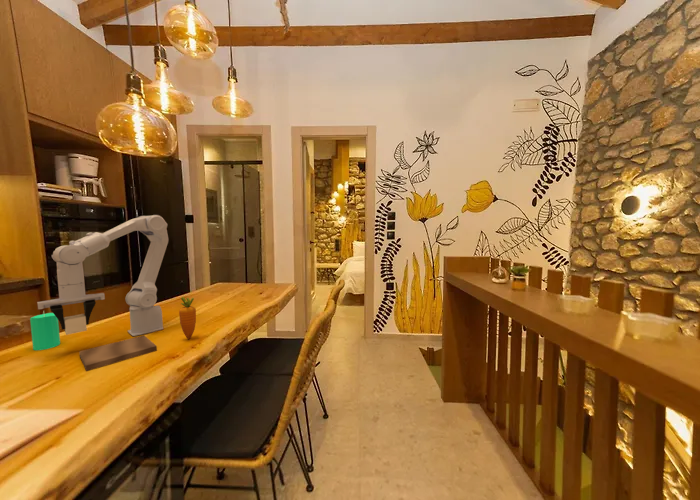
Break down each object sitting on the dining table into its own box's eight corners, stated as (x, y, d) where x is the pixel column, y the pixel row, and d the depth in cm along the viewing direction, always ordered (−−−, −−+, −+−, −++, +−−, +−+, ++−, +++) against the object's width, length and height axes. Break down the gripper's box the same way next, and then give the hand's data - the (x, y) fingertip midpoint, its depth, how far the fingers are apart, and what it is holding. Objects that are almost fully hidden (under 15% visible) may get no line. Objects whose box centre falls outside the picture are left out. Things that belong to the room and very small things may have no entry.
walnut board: (144, 339, 94) (144, 335, 94) (156, 350, 85) (156, 345, 85) (79, 356, 82) (79, 351, 82) (86, 371, 73) (85, 365, 73)
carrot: (200, 337, 95) (198, 295, 94) (188, 342, 91) (185, 298, 90) (190, 335, 97) (187, 294, 96) (177, 340, 92) (174, 297, 91)
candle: (41, 351, 86) (38, 314, 85) (27, 349, 87) (24, 313, 86) (65, 343, 92) (62, 308, 91) (51, 342, 93) (48, 307, 92)
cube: (84, 327, 88) (83, 313, 88) (86, 330, 85) (85, 316, 85) (64, 331, 85) (63, 317, 84) (66, 334, 82) (64, 320, 82)
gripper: (100, 279, 92) (103, 317, 93) (35, 286, 81) (40, 330, 82) (104, 281, 88) (107, 322, 89) (36, 289, 76) (40, 335, 77)
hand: (75, 326), depth 85 cm, fingers closed on cube, 4 cm apart
